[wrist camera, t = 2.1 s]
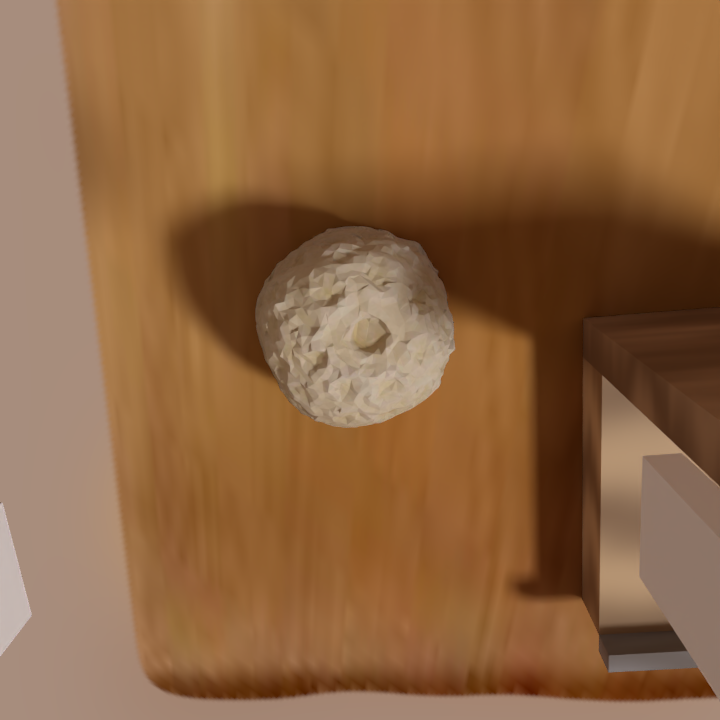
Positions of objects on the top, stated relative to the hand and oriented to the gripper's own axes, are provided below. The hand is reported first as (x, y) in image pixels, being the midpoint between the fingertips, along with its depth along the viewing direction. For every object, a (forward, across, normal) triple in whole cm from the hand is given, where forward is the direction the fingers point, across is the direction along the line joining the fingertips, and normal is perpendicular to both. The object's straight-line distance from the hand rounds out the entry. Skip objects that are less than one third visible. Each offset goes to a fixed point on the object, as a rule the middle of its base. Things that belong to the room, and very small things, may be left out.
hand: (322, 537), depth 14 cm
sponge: (+20, 0, 0) cm, 21 cm away
